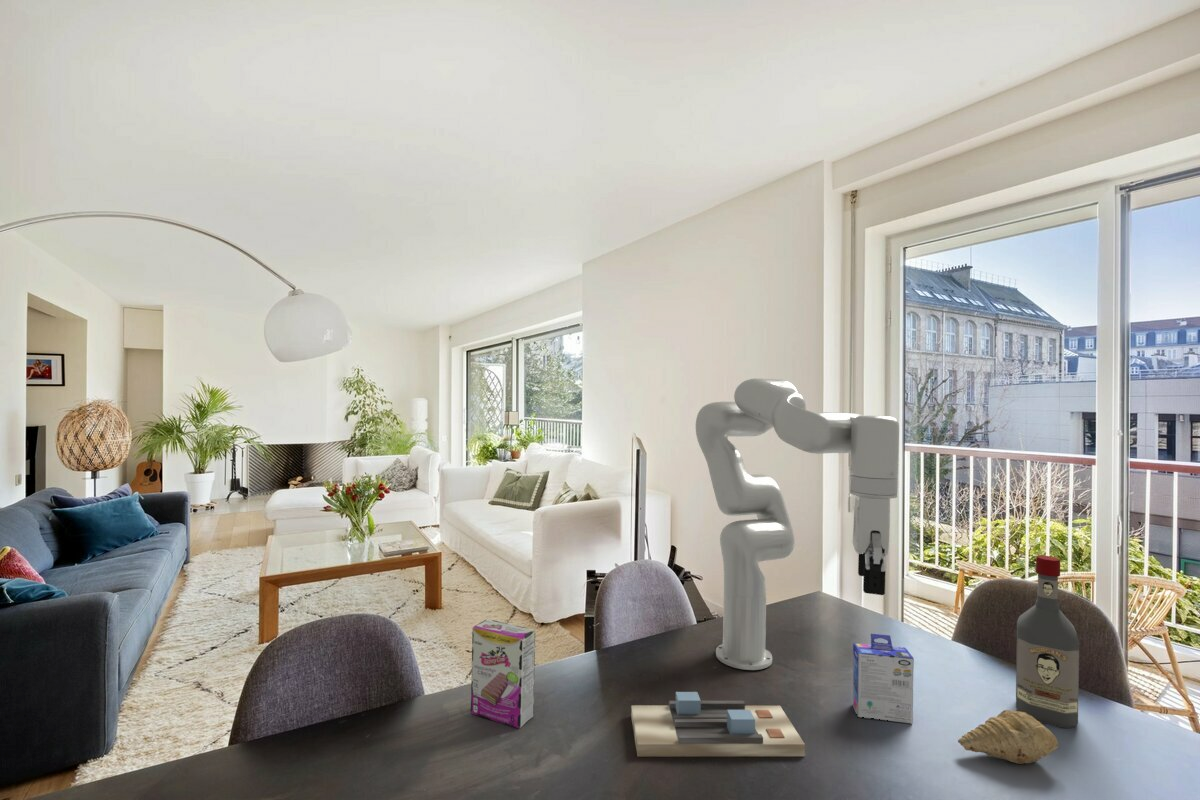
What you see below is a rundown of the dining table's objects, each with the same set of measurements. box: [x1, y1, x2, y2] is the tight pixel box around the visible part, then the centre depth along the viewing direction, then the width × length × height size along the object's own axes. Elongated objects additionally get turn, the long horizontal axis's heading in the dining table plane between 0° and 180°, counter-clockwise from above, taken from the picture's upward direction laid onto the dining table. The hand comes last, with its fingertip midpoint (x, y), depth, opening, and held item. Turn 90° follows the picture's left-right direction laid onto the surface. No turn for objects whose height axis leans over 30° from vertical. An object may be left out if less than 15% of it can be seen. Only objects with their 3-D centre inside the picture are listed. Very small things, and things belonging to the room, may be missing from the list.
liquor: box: [1015, 554, 1080, 729], centre depth 109 cm, size 9×9×30 cm
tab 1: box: [675, 691, 702, 714], centre depth 103 cm, size 3×4×3 cm
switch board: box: [630, 700, 806, 757], centre depth 100 cm, size 12×28×3 cm, turn 92°
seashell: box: [957, 709, 1059, 765], centre depth 95 cm, size 14×8×8 cm, turn 93°
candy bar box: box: [470, 618, 536, 729], centre depth 105 cm, size 11×5×16 cm, turn 65°
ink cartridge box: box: [852, 633, 915, 724], centre depth 108 cm, size 10×6×14 cm, turn 78°
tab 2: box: [727, 710, 755, 734], centre depth 97 cm, size 3×4×3 cm
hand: (870, 584), depth 99 cm, fingers open, 9 cm apart
